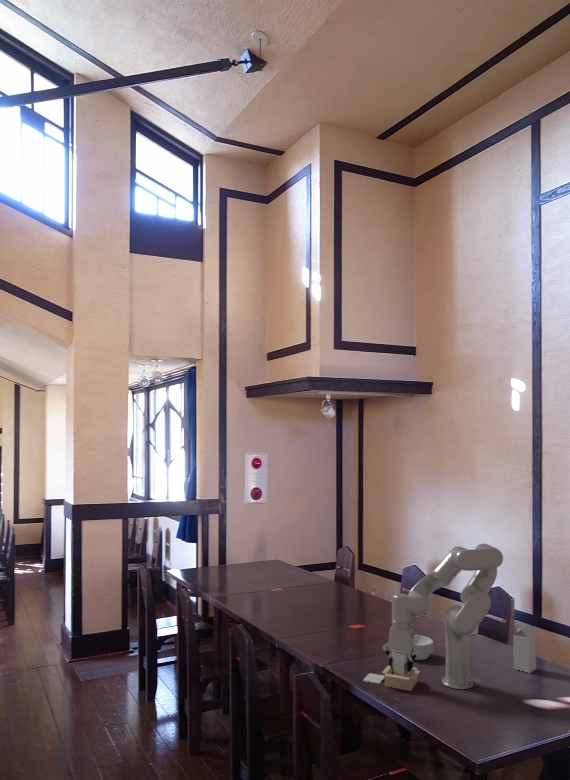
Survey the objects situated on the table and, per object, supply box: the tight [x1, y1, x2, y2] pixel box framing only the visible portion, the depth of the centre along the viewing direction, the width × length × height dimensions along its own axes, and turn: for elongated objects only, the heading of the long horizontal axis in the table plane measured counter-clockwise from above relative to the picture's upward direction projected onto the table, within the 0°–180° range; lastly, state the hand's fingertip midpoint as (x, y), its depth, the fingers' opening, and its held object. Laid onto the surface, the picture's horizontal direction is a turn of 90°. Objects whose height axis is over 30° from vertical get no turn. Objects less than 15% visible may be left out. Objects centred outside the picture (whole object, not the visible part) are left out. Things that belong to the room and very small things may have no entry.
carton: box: [381, 665, 421, 692], centre depth 262 cm, size 14×15×5 cm
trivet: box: [362, 672, 385, 685], centre depth 267 cm, size 7×9×1 cm
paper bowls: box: [412, 634, 435, 661], centre depth 297 cm, size 15×15×8 cm
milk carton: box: [512, 624, 537, 674], centre depth 282 cm, size 7×7×19 cm
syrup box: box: [392, 649, 410, 678], centre depth 263 cm, size 6×6×14 cm
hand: (401, 668), depth 262 cm, fingers open, 6 cm apart
